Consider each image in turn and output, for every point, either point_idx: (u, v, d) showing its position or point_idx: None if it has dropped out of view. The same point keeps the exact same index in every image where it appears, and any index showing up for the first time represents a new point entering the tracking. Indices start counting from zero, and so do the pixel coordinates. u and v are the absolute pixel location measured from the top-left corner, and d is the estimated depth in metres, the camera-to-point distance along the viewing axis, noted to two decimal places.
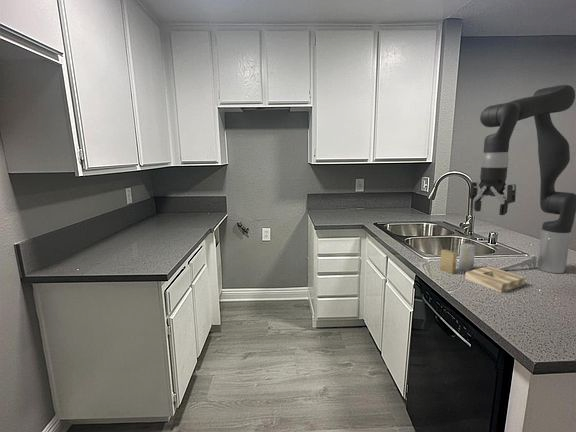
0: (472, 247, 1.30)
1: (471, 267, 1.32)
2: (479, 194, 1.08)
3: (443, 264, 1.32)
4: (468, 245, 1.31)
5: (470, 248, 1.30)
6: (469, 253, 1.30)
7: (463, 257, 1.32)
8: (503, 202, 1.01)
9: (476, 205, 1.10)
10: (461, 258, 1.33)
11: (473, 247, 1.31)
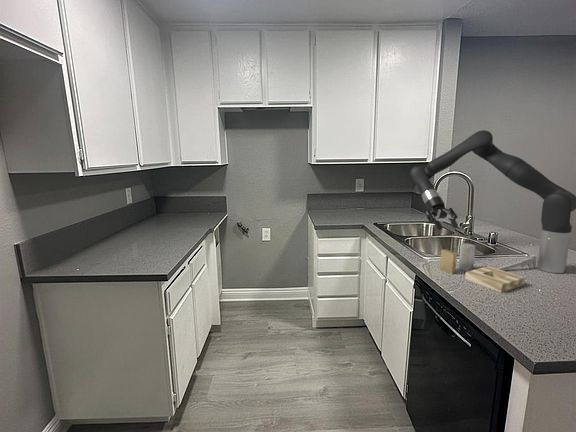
0: (472, 247, 1.30)
1: (471, 267, 1.32)
2: (438, 215, 1.43)
3: (443, 264, 1.32)
4: (468, 245, 1.31)
5: (470, 248, 1.30)
6: (469, 253, 1.30)
7: (463, 257, 1.32)
8: (454, 218, 1.45)
9: (439, 223, 1.41)
10: (461, 258, 1.33)
11: (473, 247, 1.31)
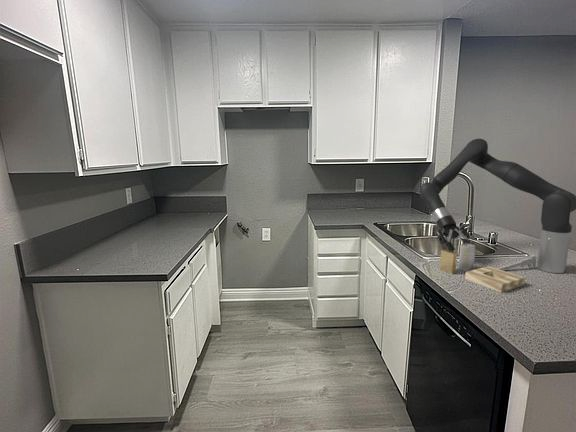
0: (472, 247, 1.30)
1: (471, 267, 1.32)
2: (450, 236, 1.37)
3: (443, 264, 1.32)
4: (468, 245, 1.31)
5: (470, 248, 1.30)
6: (469, 253, 1.30)
7: (463, 257, 1.32)
8: (466, 238, 1.38)
9: (452, 245, 1.35)
10: (461, 258, 1.33)
11: (473, 247, 1.31)
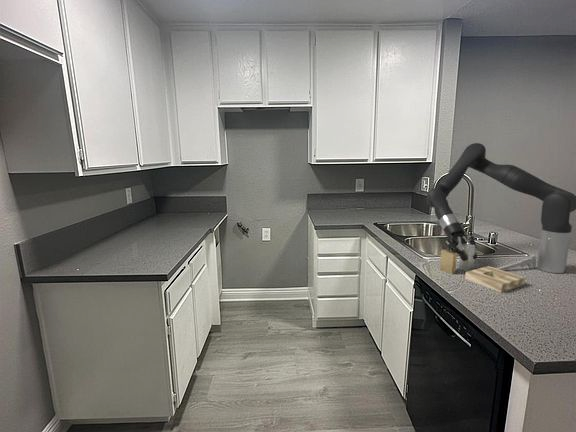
0: (472, 247, 1.30)
1: (471, 267, 1.32)
2: (460, 244, 1.33)
3: (443, 264, 1.32)
4: (468, 245, 1.31)
5: (470, 248, 1.30)
6: (469, 253, 1.30)
7: None
8: None
9: (464, 254, 1.31)
10: None
11: (473, 247, 1.31)
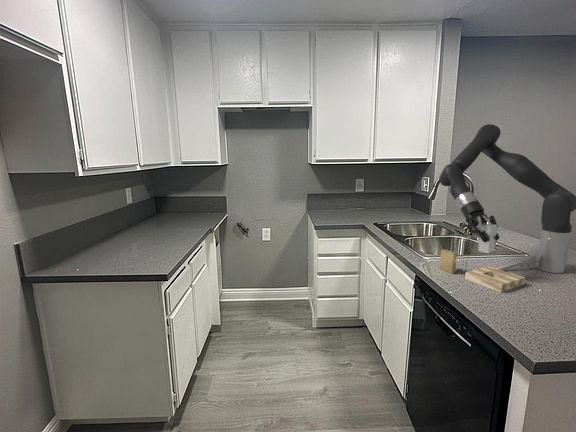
0: (494, 227, 1.19)
1: (492, 249, 1.21)
2: (481, 224, 1.22)
3: (443, 264, 1.32)
4: (489, 225, 1.20)
5: (492, 228, 1.19)
6: (491, 234, 1.19)
7: None
8: None
9: (485, 235, 1.20)
10: None
11: (495, 227, 1.19)
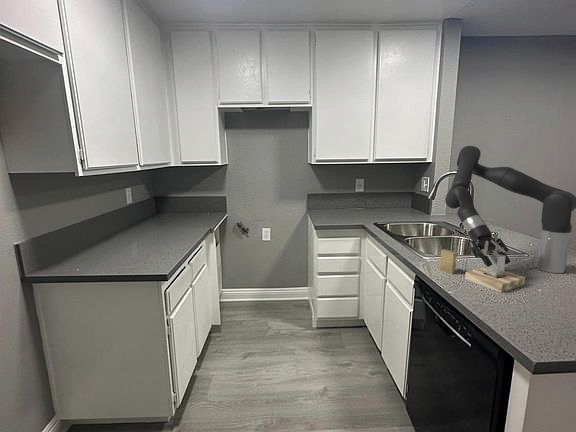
0: (501, 258, 1.17)
1: None
2: (486, 248, 1.19)
3: (443, 264, 1.32)
4: (497, 255, 1.18)
5: (499, 259, 1.16)
6: (498, 264, 1.17)
7: (491, 268, 1.19)
8: (504, 251, 1.20)
9: (488, 259, 1.17)
10: (488, 269, 1.20)
11: (503, 258, 1.17)
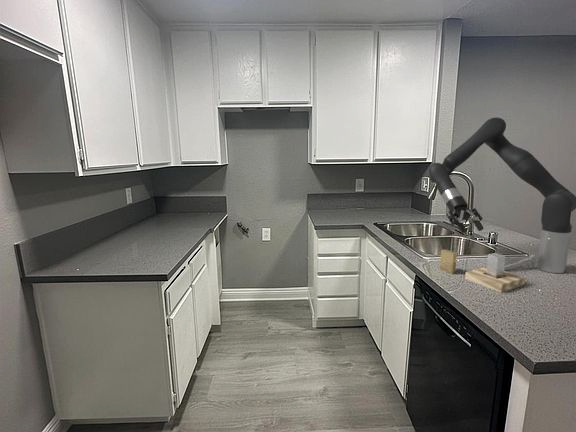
0: (501, 258, 1.17)
1: None
2: (461, 216, 1.30)
3: (443, 264, 1.32)
4: (497, 255, 1.18)
5: (499, 259, 1.16)
6: (498, 264, 1.17)
7: (491, 268, 1.19)
8: (478, 219, 1.31)
9: (463, 226, 1.28)
10: (488, 269, 1.20)
11: (503, 258, 1.17)
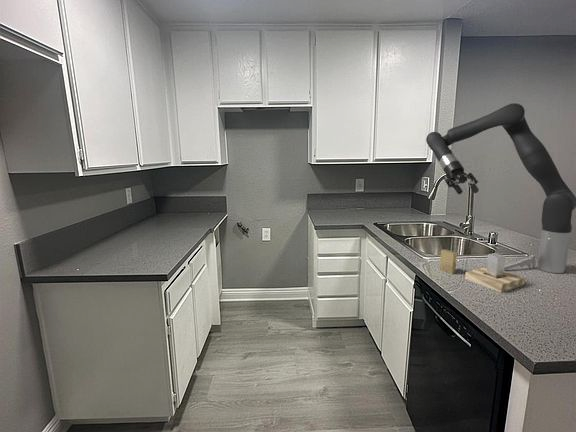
0: (501, 258, 1.17)
1: None
2: (458, 179, 1.36)
3: (443, 264, 1.32)
4: (497, 255, 1.18)
5: (499, 259, 1.16)
6: (498, 264, 1.17)
7: (491, 268, 1.19)
8: (474, 182, 1.38)
9: (459, 187, 1.35)
10: (488, 269, 1.20)
11: (503, 258, 1.17)
